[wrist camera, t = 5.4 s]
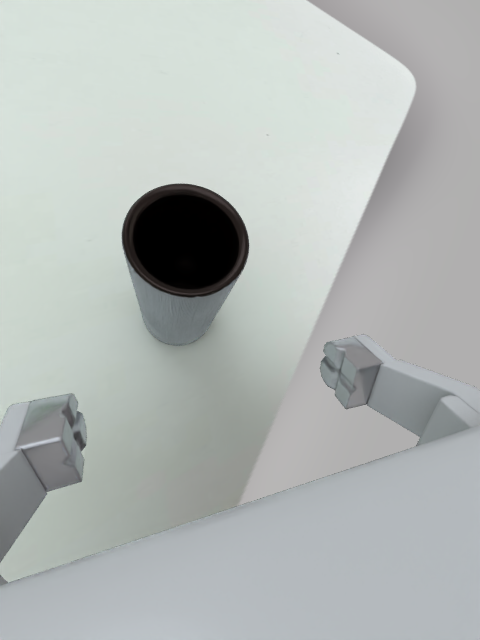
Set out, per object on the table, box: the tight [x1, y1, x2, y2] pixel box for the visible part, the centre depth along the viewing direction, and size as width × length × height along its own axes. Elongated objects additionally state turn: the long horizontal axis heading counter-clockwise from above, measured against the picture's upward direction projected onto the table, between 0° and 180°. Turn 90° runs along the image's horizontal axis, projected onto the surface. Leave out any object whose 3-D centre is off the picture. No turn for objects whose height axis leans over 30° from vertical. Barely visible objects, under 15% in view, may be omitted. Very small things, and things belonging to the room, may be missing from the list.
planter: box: [122, 184, 249, 345], centre depth 16 cm, size 4×4×10 cm
